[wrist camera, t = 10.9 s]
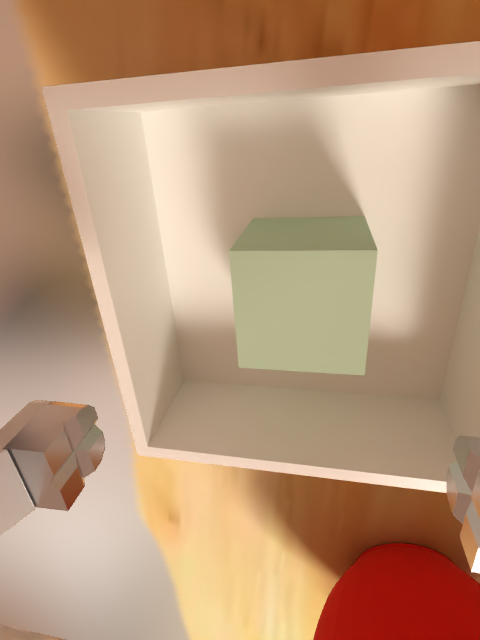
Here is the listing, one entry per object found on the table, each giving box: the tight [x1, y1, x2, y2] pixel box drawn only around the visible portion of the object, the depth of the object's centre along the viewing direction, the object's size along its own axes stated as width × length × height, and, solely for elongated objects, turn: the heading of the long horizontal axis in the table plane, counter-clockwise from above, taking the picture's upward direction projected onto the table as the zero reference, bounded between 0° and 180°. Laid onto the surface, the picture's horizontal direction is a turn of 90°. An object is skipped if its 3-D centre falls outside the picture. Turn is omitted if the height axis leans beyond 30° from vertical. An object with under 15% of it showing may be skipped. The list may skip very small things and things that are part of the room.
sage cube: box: [229, 216, 378, 376], centre depth 14 cm, size 4×4×4 cm
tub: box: [41, 41, 480, 493], centre depth 15 cm, size 14×14×6 cm
